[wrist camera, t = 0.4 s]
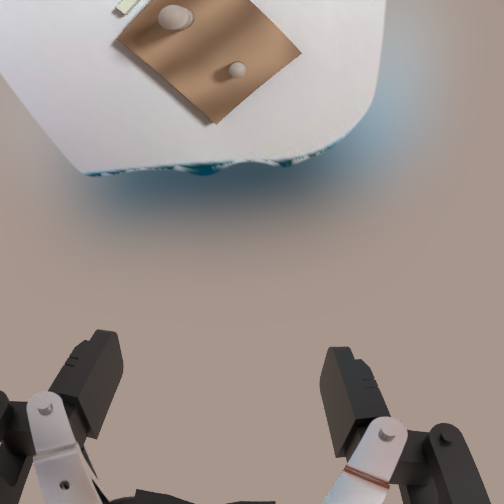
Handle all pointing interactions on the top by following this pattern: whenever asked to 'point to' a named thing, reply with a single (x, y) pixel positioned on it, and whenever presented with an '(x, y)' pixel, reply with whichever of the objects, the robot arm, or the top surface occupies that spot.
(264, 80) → the post base
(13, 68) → the top surface
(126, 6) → the hollow square block
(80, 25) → the top surface
